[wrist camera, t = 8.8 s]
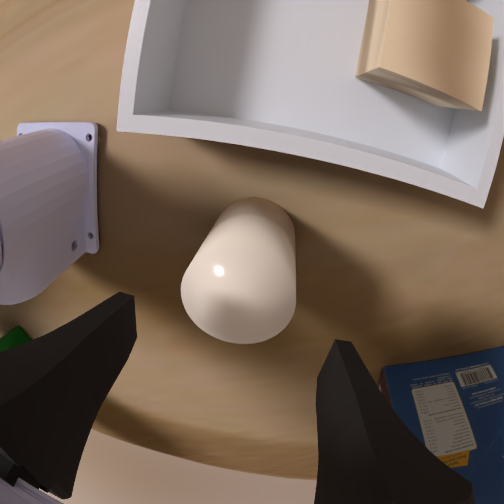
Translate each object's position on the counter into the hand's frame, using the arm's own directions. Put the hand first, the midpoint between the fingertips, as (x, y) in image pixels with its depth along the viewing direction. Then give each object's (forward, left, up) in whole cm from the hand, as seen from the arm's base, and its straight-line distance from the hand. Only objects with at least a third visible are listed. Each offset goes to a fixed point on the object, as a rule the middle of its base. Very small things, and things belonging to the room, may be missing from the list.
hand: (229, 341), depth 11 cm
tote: (+13, -2, -10) cm, 16 cm away
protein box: (-12, -21, -10) cm, 26 cm away
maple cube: (+13, -6, -9) cm, 17 cm away
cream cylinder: (0, 0, -10) cm, 10 cm away
